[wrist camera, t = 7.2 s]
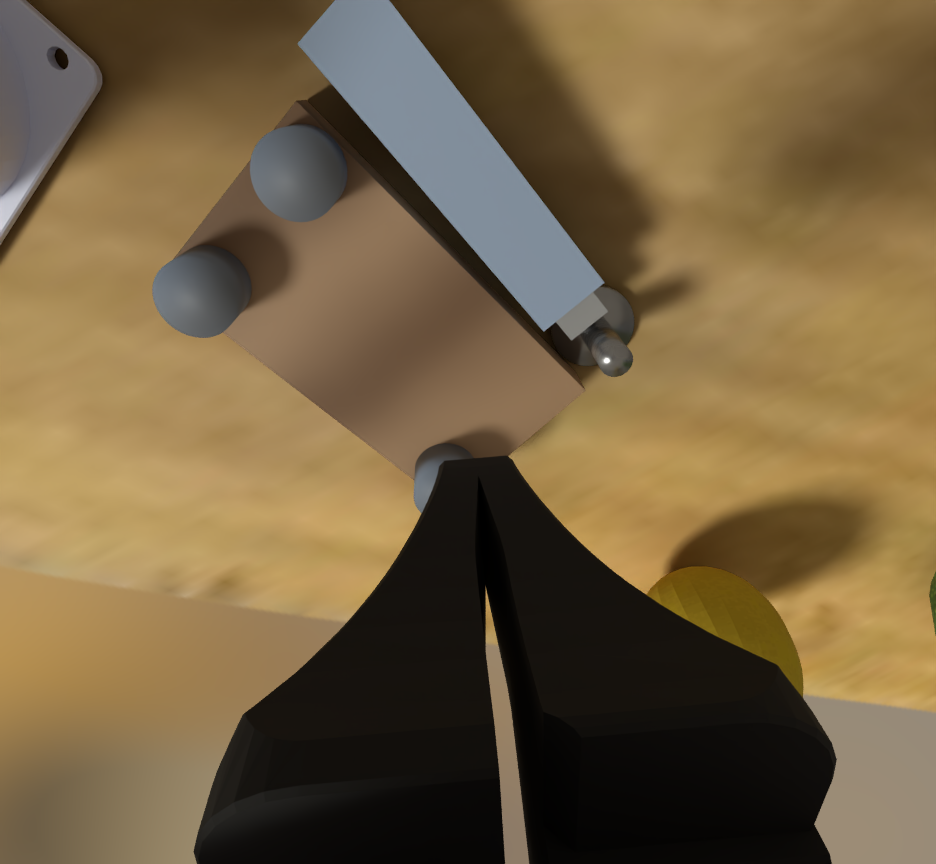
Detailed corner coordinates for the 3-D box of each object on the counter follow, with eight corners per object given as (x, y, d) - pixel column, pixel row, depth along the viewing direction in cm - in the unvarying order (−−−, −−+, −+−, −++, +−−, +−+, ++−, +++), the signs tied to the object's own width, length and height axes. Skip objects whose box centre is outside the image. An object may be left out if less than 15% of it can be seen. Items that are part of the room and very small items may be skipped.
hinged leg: (604, 286, 20) (625, 310, 18) (551, 329, 20) (565, 357, 18) (372, -17, 15) (364, -34, 13) (314, 49, 16) (297, 43, 14)
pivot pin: (533, 325, 21) (550, 362, 18) (597, 267, 20) (625, 295, 17) (585, 377, 22) (608, 419, 19) (647, 324, 21) (681, 360, 18)
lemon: (590, 577, 27) (647, 749, 20) (697, 505, 25) (800, 666, 18) (658, 638, 29) (731, 813, 22) (761, 576, 27) (875, 744, 20)
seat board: (174, 268, 19) (132, 297, 16) (306, 99, 17) (283, 101, 14) (447, 483, 24) (449, 534, 21) (576, 372, 22) (596, 412, 19)
